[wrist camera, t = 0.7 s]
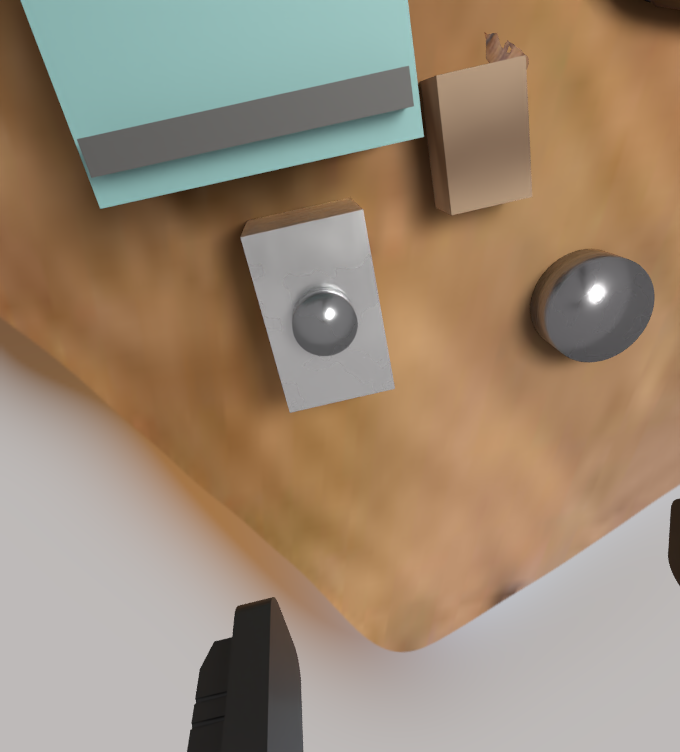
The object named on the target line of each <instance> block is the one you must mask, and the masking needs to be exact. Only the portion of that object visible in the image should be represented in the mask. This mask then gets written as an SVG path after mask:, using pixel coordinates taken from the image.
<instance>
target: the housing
mask: <svg viewBox="0 0 680 752" xmlns="http://www.w3.org/2000/svg"><path fill="white" fill-rule="evenodd" d="M240 238H241V241H242V245H243V248H244V252H245V255H246V259H247V263H248V266H249V270H250V273H251V277H252V280H253V284H254V287H255V291H256V294H257V298H258V301H259V305H260V309H261V312H262V316H263V319H264V323H265V326H266V330H267V333H268V337H269V340H270V344H271V348H272V351H273V355H274V358H275V362H276V365H277V369H278V372H279V376H280V379H281V383H282V387H283V390H284V394H285V397H286V401H287V404H288V408H289V411H290V413H291V412H295V411H299V410H304V409H308V408H312V407H317V406H321V405H326V404H330V403H334V402H339V401H343V400H347V399H352V398H356V397H361V396H365V395H369V394H374V393H378V392H382V391H387V390H391V389H395V387H394V381H393V375H392V370H391V364H390V359H389V353H388V347H387V342H386V336H385V330H384V325H383V319H382V314H381V308H380V302H379V297H378V291H377V285H376V280H375V274H374V269H373V263H372V257H371V252H370V246H369V240H368V235H367V229H366V224H365V218H364V212H363V209H362V208H361V207H360V206H359V205H358V204H357V203H356V202H354V201H353V200H352V199H351V198H345V199H341V200H336V201H332V202H328V203H323V204H319V205H314V206H310V207H306V208H301V209H297V210H292V211H288V212H283V213H279V214H275V215H270V216H266V217H261V218H257V219H253V220H248V221H247V222H246V225H245V227H244V230H243V232H242V235H241V237H240Z"/></svg>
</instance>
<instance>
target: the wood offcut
mask: <svg viewBox="0 0 680 752" xmlns="http://www.w3.org/2000/svg"><path fill="white" fill-rule="evenodd" d="M420 85H421V93H422V101H423V109H424V118H425V126H426V134H427V142H428V150H429V158H430V166H431V175H432V183H433V191H434V199H435V207H436V208H437V209H439V210H441V211H443V212H446V213H448V214H450V215H455V214H460V213H464V212H468V211H473V210H477V209H481V208H486V207H490V206H494V205H499V204H503V203H507V202H512V201H516V200H520V199H525V198H529V197H532V182H531V160H530V138H529V116H528V95H527V73H526V55H524V56H520V57H515V58H511V59H507V60H502V61H498V62H494V63H489V64H485V65H480V66H476V67H472V68H467V69H463V70H459V71H454V72H450V73H446V74H441V75H437V76H434V77H431V78H429V79H426V80H424V81H421V82H420Z"/></svg>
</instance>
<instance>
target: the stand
mask: <svg viewBox="0 0 680 752" xmlns="http://www.w3.org/2000/svg"><path fill="white" fill-rule="evenodd" d="M21 3H22V6H23V8H24V11H25V13H26V16H27V19H28V21H29V24H30V26H31V29H32V32H33V34H34V37H35V40H36V42H37V45H38V47H39V50H40V53H41V55H42V58H43V60H44V63H45V66H46V68H47V71H48V73H49V76H50V79H51V81H52V84H53V87H54V89H55V92H56V94H57V97H58V100H59V102H60V105H61V107H62V110H63V113H64V115H65V118H66V121H67V123H68V126H69V128H70V131H71V134H72V136H73V139H74V141H75V144H76V147H77V149H78V152H79V154H80V157H81V160H82V162H83V165H84V168H85V170H86V173H87V175H88V178H89V181H90V183H91V186H92V188H93V191H94V194H95V196H96V199H97V201H98V204H99V207H100V209H102V208H107V207H111V206H116V205H120V204H125V203H129V202H134V201H138V200H143V199H147V198H152V197H156V196H161V195H165V194H170V193H174V192H179V191H183V190H188V189H192V188H197V187H201V186H206V185H210V184H215V183H219V182H224V181H228V180H233V179H237V178H242V177H246V176H251V175H255V174H260V173H264V172H269V171H273V170H278V169H282V168H286V167H291V166H295V165H300V164H304V163H309V162H313V161H318V160H322V159H327V158H331V157H336V156H340V155H345V154H349V153H354V152H358V151H363V150H367V149H372V148H376V147H381V146H385V145H390V144H394V143H399V142H403V141H408V140H412V139H417V138H421V137H424V133H423V124H422V116H421V108H420V99H419V91H418V82H417V74H416V66H415V57H414V49H413V41H412V32H411V24H410V15H409V7H408V0H21Z"/></svg>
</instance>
